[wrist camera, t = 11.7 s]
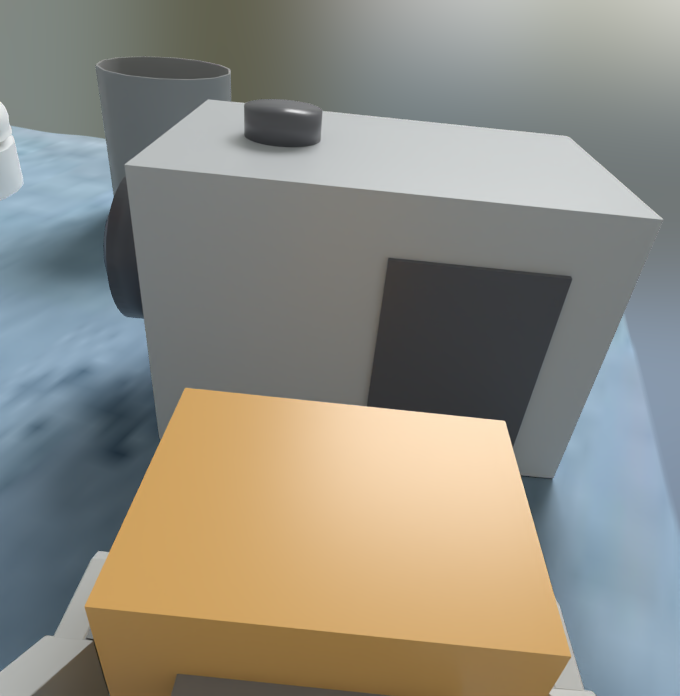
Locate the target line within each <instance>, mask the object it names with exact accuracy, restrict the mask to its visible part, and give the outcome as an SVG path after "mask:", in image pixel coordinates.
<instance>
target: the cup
mask: <svg viewBox="0 0 680 696" xmlns="http://www.w3.org/2000/svg"><path fill="white" fill-rule="evenodd" d="M96 73H97V80H98V87H99V94H100V101H101V108H102V115H103V123H104V130H105V137H106V144H107V151H108V158H109V165H110V172H111V179H112V187H113V194H114V196H115V193H116V190H117V188H118V186H119V184H120V183H121V181H122V180H123V178H124V177H125V176H126V173H125V164H126V163H127V162H128V161H130V160H131V159H132V158H134V157H135V156H136V155H137V154H139V153H140V152H141V151H143V150H144V149H145V148H146V147H148V146H149V145H150V144H152V143H153V142H154V141H155V140H157V139H158V138H159V137H161V136H162V135H163V134H164V133H166V132H167V131H168V130H170V129H171V128H172V127H173V126H175V125H176V124H177V123H179V122H180V121H181V120H182V119H184V118H185V117H186V116H188V115H189V114H190V113H191V112H193V111H194V110H195V109H197V108H198V107H199V106H200V105H202V104H203V103H204V102H205V101H207V100H208V99H209V100H219V101H229V102H231V72H230V69H228V68H226V67H223V66H221V65H218V64H213V63H209V62H203V61H199V60H190V59H180V58H170V57H119V58H113V59H106V60H101V61H100V62H99V63H97V64H96Z"/></svg>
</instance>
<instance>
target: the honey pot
mask: <svg viewBox="0 0 680 696" xmlns="http://www.w3.org/2000/svg"><path fill="white" fill-rule="evenodd" d="M11 134H12V128H11V126H10V124H9V115H8V113H7V111H6V108H5V106H4V105H3V104H2V103H1V102H0V201H1V200H3V199H6V198H7V197H9V196H11V195H12V194H14V193H16V192H17V191H18V190H19V189H20V188H21V187H22V185H23V176H22V171H21V167H20V163H19V158H18V154H17V150H16V145H15V141H14V137H13V136H12V135H11Z"/></svg>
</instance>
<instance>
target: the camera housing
mask: <svg viewBox="0 0 680 696" xmlns="http://www.w3.org/2000/svg"><path fill="white" fill-rule="evenodd" d="M125 173H126V176H125V177H124V178H123V180H122V181H121V183H120V184H119V186H118V188H117V190H116V193H115V196H114V198H113V202H112V205H111V209H110V213H109V215H108V219H107V222H106V226H105V233H104V261H105V267H106V271H107V275H108V281H109V286H110V290H111V294H112V297H113V299H114V302H115V304H116V306H117V308H118V309H119V311H120V312H121V313H122V314H123V315H125V316H127V317H132V318H142V319H144V323H145V331H146V338H147V346H148V354H149V362H150V370H151V378H152V386H153V394H154V401H155V409H156V417H157V425H158V433H159V439H162V437H163V435H164V432H165V430H166V428H167V426H168V424H169V421H170V419H171V417H172V415H173V413H174V411H175V408H176V406H177V404H178V402H179V400H180V398H181V395H182V393H183V391H184V389H185V388H193V389H203V390H213V391H222V392H232V393H242V394H251V395H261V396H270V397H280V398H290V399H299V400H309V401H319V402H328V403H338V404H347V405H357V406H367V407H376V408H386V409H396V410H405V411H415V412H424V413H434V414H444V415H453V416H463V417H473V418H482V419H492V420H501V421H505V422H506V426H507V429H508V433H509V437H510V440H511V444H512V447H513V451H514V454H515V458H516V461H517V465H518V468H519V472H520V475H523V476H533V477H543V478H554V476H555V473H556V471H557V468H558V466H559V464H560V461H561V459H562V457H563V454H564V452H565V450H566V447H567V445H568V443H569V440H570V438H571V436H572V433H573V431H574V429H575V426H576V424H577V422H578V419H579V417H580V414H581V412H582V410H583V407H584V405H585V403H586V400H587V398H588V396H589V393H590V391H591V389H592V386H593V384H594V382H595V379H596V377H597V375H598V372H599V370H600V368H601V365H602V363H603V360H604V358H605V356H606V353H607V351H608V349H609V346H610V344H611V342H612V339H613V337H614V335H615V332H616V330H617V328H618V325H619V323H620V321H621V318H622V316H623V313H624V311H625V309H626V306H627V304H628V302H629V299H630V297H631V295H632V292H633V290H634V287H635V285H636V283H637V281H638V278H639V276H640V274H641V271H642V269H643V267H644V264H645V262H646V259H647V257H648V255H649V252H650V250H651V248H652V245H653V243H654V241H655V238H656V236H657V234H658V231H659V229H660V227H661V224H662V222H663V219H662V218H661V217H660V216H659V215H657V214H656V213H655V212H654V211H653V210H652V209H651V208H649V207H648V206H647V205H646V204H644V202H642V201H641V200H640V199H639V198H638V197H637V196H636V195H635V194H633V193H632V192H631V191H630V190H629V189H628V188H626V186H624V185H623V184H622V183H621V182H620V181H619V180H617V179H616V178H615V177H614V176H613V175H612V174H611V173H609V172H608V171H607V170H606V169H605V168H604V167H603V166H602V165H600V164H599V163H598V162H597V161H596V160H595V159H594V158H592V157H591V156H590V155H589V154H588V153H586V151H584V150H583V149H582V148H581V147H580V146H579V145H578V144H577V143H575V142H574V141H573V140H572V139H571V138H570V137H569V136H560V135H550V134H539V133H531V132H520V131H511V130H501V129H491V128H482V127H472V126H462V125H452V124H443V123H433V122H423V121H414V120H404V119H394V118H384V117H375V116H365V115H355V114H345V113H336V112H326V111H322V109H321V108H319V107H317V106H315V105H312V104H308V103H304V102H298V101H291V100H279V99H263V100H255V101H250V102H247V103H238V102H229V101H219V100H209V99H208V100H207V101H205V102H204V103H203V104H202V105H200V106H199V107H198V108H197V109H195V110H194V111H193V112H191V113H190V114H189V115H188V116H186V117H185V118H184V119H182V120H181V121H180V122H179V123H177V124H176V125H175V126H173V127H172V128H171V129H170V130H168V131H167V132H166V133H164V134H163V135H162V136H161V137H159V138H158V139H157V140H155V141H154V142H153V143H152V144H150V145H149V146H148V147H146V148H145V149H144V150H143V151H141V152H140V153H139V154H137V155H136V156H135V157H134V158H132V159H131V160H130V161H128V162H127V163H126V164H125Z"/></svg>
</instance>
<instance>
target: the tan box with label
mask: <svg viewBox="0 0 680 696" xmlns="http://www.w3.org/2000/svg"><path fill="white" fill-rule="evenodd" d="M84 607H85V611H86V614H87V618H88V621H89V625H90V628H91V632H92V635H93V639H94V642H95V645H96V649H97V652H98V656H99V659H100V663H101V666H102V670H103V673H104V677H105V680H106V683H107V687H108V690H109V694H110V696H548V695H549V693H550V691H551V690H552V688H553V686H554V685H555V683H556V681H557V680H558V678H559V676H560V675H561V673H562V672H563V670H564V668H565V667H566V665H567V663H568V662H569V660H570V658H571V653H570V649H569V646H568V642H567V639H566V635H565V632H564V628H563V625H562V621H561V617H560V614H559V610H558V607H557V603H556V600H555V596H554V593H553V589H552V586H551V582H550V578H549V575H548V571H547V568H546V564H545V561H544V557H543V554H542V550H541V547H540V543H539V539H538V536H537V532H536V529H535V525H534V522H533V518H532V515H531V511H530V507H529V504H528V500H527V497H526V493H525V490H524V486H523V483H522V479H521V476H520V472H519V468H518V465H517V461H516V458H515V454H514V451H513V447H512V444H511V440H510V437H509V433H508V429H507V426H506V422H505V421H501V420H492V419H482V418H473V417H463V416H453V415H444V414H434V413H424V412H415V411H405V410H396V409H386V408H376V407H367V406H357V405H347V404H338V403H328V402H319V401H309V400H299V399H290V398H280V397H270V396H261V395H251V394H242V393H232V392H222V391H213V390H203V389H193V388H185V389H184V391H183V393H182V395H181V398H180V400H179V402H178V404H177V406H176V408H175V411H174V413H173V415H172V417H171V419H170V421H169V424H168V426H167V428H166V430H165V432H164V435H163V437H162V439H161V441H160V443H159V445H158V448H157V450H156V452H155V454H154V456H153V458H152V461H151V463H150V465H149V467H148V469H147V471H146V474H145V476H144V478H143V480H142V482H141V484H140V487H139V489H138V491H137V493H136V495H135V498H134V500H133V502H132V504H131V506H130V508H129V511H128V513H127V515H126V517H125V519H124V521H123V524H122V526H121V528H120V530H119V532H118V534H117V537H116V539H115V541H114V543H113V545H112V547H111V550H110V552H109V554H108V556H107V558H106V561H105V563H104V565H103V567H102V569H101V571H100V574H99V576H98V578H97V580H96V582H95V584H94V587H93V589H92V591H91V593H90V595H89V597H88V600H87V602H86V604H85V606H84Z"/></svg>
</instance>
